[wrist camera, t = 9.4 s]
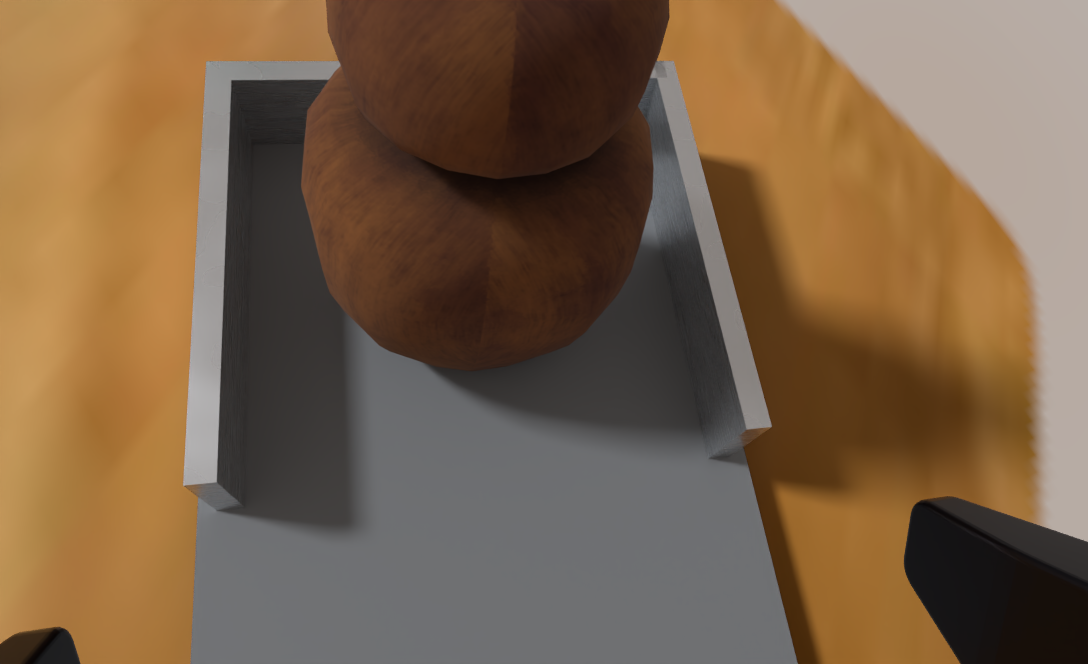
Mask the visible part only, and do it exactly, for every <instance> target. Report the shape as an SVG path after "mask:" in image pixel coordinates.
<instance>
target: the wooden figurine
mask: <svg viewBox="0 0 1088 664" xmlns="http://www.w3.org/2000/svg"><path fill="white" fill-rule="evenodd" d="M326 6H327V22H328V33H329V36H330V38H331V41H332V44H333V46H334V49H335V52H336V55H337V57H338V60H339V63H340V65H341V66H340V67H339V68H338V69H337V70H336V71H335V72H334V73H333V75H332V76H331V78H330V79H329V80H328V82H327V83H326V85H325V86H324V88H323V89H322V90H321V92H320V93H319V95H318V96H317V97H316V99H315V100H314V102H313V103H312V105H311V106H310V107H309V109H308V111H307V120H306V130H305V140H304V153H303V166H302V180H301V188H302V192H303V196H304V199H305V203H306V207H307V211H308V214H309V218H310V222H311V226H312V230H313V234H314V238H315V242H316V246H317V250H318V254H319V258H320V262H321V266H322V270H323V273H324V276H325V279H326V282H327V286H328V289H329V292H330V294H331V295H332V296H333V297H334V299H335V300H336V301H337V303H338V304H339V305H340V306H341V308H342V309H343V310H344V311H345V312H346V313H347V314H348V315H349V316H350V317H351V318H352V319H353V320H354V321H355V322H356V323H357V324H358V325H359V326H360V327H361V328H362V329H363V330H364V331H365V332H366V333H367V334H368V335H369V336H370V337H371V338H372V339H373V340H374V341H375V342H376V343H377V344H378V345H379V346H381V347H383V348H384V349H386V350H388V351H390V352H393V353H396V354H399V355H402V356H405V357H408V358H411V359H414V360H417V361H420V362H423V363H426V364H429V365H432V366H435V367H441V368H449V369H457V370H465V371H478V370H485V369H492V368H499V367H506V366H510V365H513V364H516V363H519V362H522V361H525V360H528V359H531V358H534V357H537V356H541V355H544V354H547V353H550V352H553V351H555V350H558V349H561V348H563V347H566V346H568V345H570V344H571V343H572V342H574V341H575V340H576V339H578V338H579V337H580V336H581V335H583V334H584V333H585V332H586V331H587V330H588V329H589V327H590V326H591V325H592V324H593V323H594V322H595V321H596V319H597V318H598V317H599V316H600V315H601V314H602V313H603V311H604V310H605V309H606V308H607V307H608V306H609V304H610V303H611V302H612V301H613V300H614V299H615V298H616V296H617V295H618V294H619V292H620V290H621V288H622V287H623V285H624V283H625V281H626V280H627V278H628V276H629V274H630V273H631V270H632V267H633V264H634V261H635V258H636V255H637V252H638V248H639V245H640V242H641V238H642V235H643V231H644V227H645V223H646V220H647V216H648V212H649V208H650V205H651V201H652V197H653V171H654V166H653V156H652V147H651V137H650V127H649V124H648V122H647V121H646V119H645V117H644V116H643V114H642V112H641V110H640V109H639V107H638V105H639V103H640V101H641V99H642V97H643V95H644V93H645V90H646V88H647V85H648V82H649V79H650V77H651V74H652V71H653V69H654V66H655V63H656V61H657V58H658V55H659V53H660V49H661V46H662V42H663V38H664V35H665V31H666V28H667V24H668V21H669V0H326Z"/></svg>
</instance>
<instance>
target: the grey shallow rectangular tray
mask: <svg viewBox="0 0 1088 664" xmlns="http://www.w3.org/2000/svg"><path fill="white" fill-rule="evenodd" d="M340 66H341V65H340V63H339V61H206V76H205V95H204V113H203V132H202V150H201V169H200V187H199V206H198V224H197V242H196V261H195V279H194V298H193V316H192V335H191V353H190V372H189V390H188V409H187V427H186V445H185V464H184V482H183V486H185V487H186V488H187V489H189V490H190V491H191V492H193V493H194V494H195V495H196V496H198V514H197V536H196V558H195V579H194V601H193V623H192V645H191V664H798V663H797V659H796V655H795V651H794V647H793V643H792V639H791V635H790V631H789V627H788V623H787V619H786V615H785V611H784V607H783V603H782V599H781V595H780V591H779V587H778V583H777V579H776V575H775V571H774V567H773V563H772V559H771V555H770V551H769V547H768V543H767V539H766V535H765V531H764V527H763V523H762V519H761V515H760V511H759V507H758V503H757V499H756V495H755V491H754V487H753V483H752V479H751V475H750V471H749V467H748V463H747V459H746V455H745V452H744V448H743V447H744V446H746V445H747V444H749V443H750V442H751V441H753V440H754V439H756V438H757V437H758V436H760V435H761V434H763V433H764V432H766V431H767V430H768V429H770V428H771V427H772V425H771V421H770V418H769V414H768V410H767V406H766V403H765V399H764V395H763V392H762V388H761V384H760V380H759V377H758V373H757V369H756V366H755V362H754V358H753V354H752V351H751V347H750V343H749V340H748V336H747V332H746V328H745V325H744V321H743V317H742V314H741V310H740V306H739V302H738V299H737V295H736V291H735V288H734V284H733V280H732V276H731V273H730V269H729V265H728V262H727V258H726V254H725V250H724V247H723V243H722V239H721V236H720V232H719V228H718V224H717V221H716V217H715V213H714V210H713V206H712V202H711V198H710V195H709V191H708V187H707V184H706V180H705V176H704V173H703V169H702V165H701V161H700V158H699V154H698V150H697V147H696V143H695V139H694V135H693V132H692V128H691V124H690V121H689V117H688V113H687V109H686V106H685V102H684V98H683V95H682V91H681V87H680V83H679V80H678V76H677V72H676V69H675V65H674V61H656V63H655V66H654V69H653V71H652V74H651V77H650V79H649V82H648V85H647V88H646V90H645V93H644V95H643V97H642V99H641V101H640V103H639V105H638V107H639V109H640V110H641V112H642V114H643V116H644V117H645V119H646V121H647V122H648V124H649V127H650V137H651V147H652V156H653V166H654V171H653V197H652V201H651V205H650V208H649V212H648V216H647V220H646V223H645V227H644V231H643V235H642V238H641V242H640V245H639V248H638V252H637V255H636V258H635V261H634V264H633V267H632V270H631V273H630V274H629V276H628V278H627V280H626V281H625V283H624V285H623V287H622V288H621V290H620V292H619V294H618V295H617V296H616V298H615V299H614V300H613V301H612V302H611V303H610V304H609V306H608V307H607V308H606V309H605V310H604V311H603V313H602V314H601V315H600V316H599V317H598V318H597V319H596V321H595V322H594V323H593V324H592V325H591V326H590V327H589V329H588V330H587V331H586V332H585V333H584V334H583V335H581V336H580V337H579V338H578V339H576V340H575V341H574V342H572V343H571V344H570V345H568V346H566V347H563V348H561V349H558V350H555V351H553V352H550V353H547V354H544V355H541V356H537V357H534V358H531V359H528V360H525V361H522V362H519V363H516V364H513V365H510V366H506V367H499V368H492V369H485V370H478V371H465V370H457V369H449V368H441V367H435V366H432V365H429V364H426V363H423V362H420V361H417V360H414V359H411V358H408V357H405V356H402V355H399V354H396V353H393V352H390V351H388V350H386V349H384V348H383V347H381V346H379V345H378V344H377V343H376V342H375V341H374V340H373V339H372V338H371V337H370V336H369V335H368V334H367V333H366V332H365V331H364V330H363V329H362V328H361V327H360V326H359V325H358V324H357V323H356V322H355V321H354V320H353V319H352V318H351V317H350V316H349V315H348V314H347V313H346V312H345V311H344V310H343V309H342V308H341V306H340V305H339V304H338V303H337V301H336V300H335V299H334V297H333V296H332V295H331V294H330V292H329V289H328V286H327V282H326V279H325V276H324V273H323V270H322V266H321V262H320V258H319V254H318V250H317V246H316V242H315V238H314V234H313V230H312V226H311V222H310V218H309V214H308V211H307V207H306V203H305V199H304V196H303V192H302V188H301V180H302V166H303V153H304V140H305V130H306V120H307V111H308V109H309V107H310V106H311V105H312V103H313V102H314V100H315V99H316V97H317V96H318V95H319V93H320V92H321V90H322V89H323V88H324V86H325V85H326V83H327V82H328V80H329V79H330V78H331V76H332V75H333V73H334V72H335V71H336V70H337V69H338V68H339V67H340Z"/></svg>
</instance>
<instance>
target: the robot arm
mask: <svg viewBox="0 0 1088 664" xmlns="http://www.w3.org/2000/svg"><path fill="white" fill-rule="evenodd" d="M904 568H905V572H906V575H907V578H908V580H909V582H910V584H911V586H912V587H913V589H914V591H915V592H916V594H917V595H918V597H919V599H920V600H921V602H922V603H923V605H924V606H925V608H926V610H927V611H928V613H929V614H930V616H931V618H932V619H933V621H934V622H935V624H936V625H937V627H938V629H939V630H940V632H941V633H942V635H943V637H944V638H945V640H946V641H947V643H948V645H949V646H950V648H951V649H952V651H953V652H954V654H955V656H956V657H957V659H958V660H959V662H960V664H1088V542H1086V541H1084V540H1080V539H1077V538H1074V537H1071V536H1069V535H1066V534H1063V533H1060V532H1057V531H1054V530H1051V529H1048V528H1045V527H1042V526H1039V525H1036V524H1033V523H1030V522H1027V521H1024V520H1022V519H1019V518H1016V517H1013V516H1010V515H1007V514H1004V513H1001V512H998V511H995V510H992V509H989V508H986V507H983V506H980V505H977V504H974V503H971V502H968V501H965V500H962V499H959V498H956V497H950V496H946V497H939V498H932V499H925V500H921V501H919V502H917V503H916V504H915V505H914V507H913V509H912V511H911V516H910V523H909V529H908V536H907V542H906V548H905V555H904ZM0 664H80V661H79V657H78V654H77V651H76V648H75V645H74V642H73V639H72V637H71V635H70V633H69V632H68V631H67V630H66V629H64V628H61V627H52V628H46V629H39V630H32V631H25V632H20V633H17V634H14V635H13V636H11V637H9V638H8V639H7V640H5V641H4V642H2V643H1V644H0Z"/></svg>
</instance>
